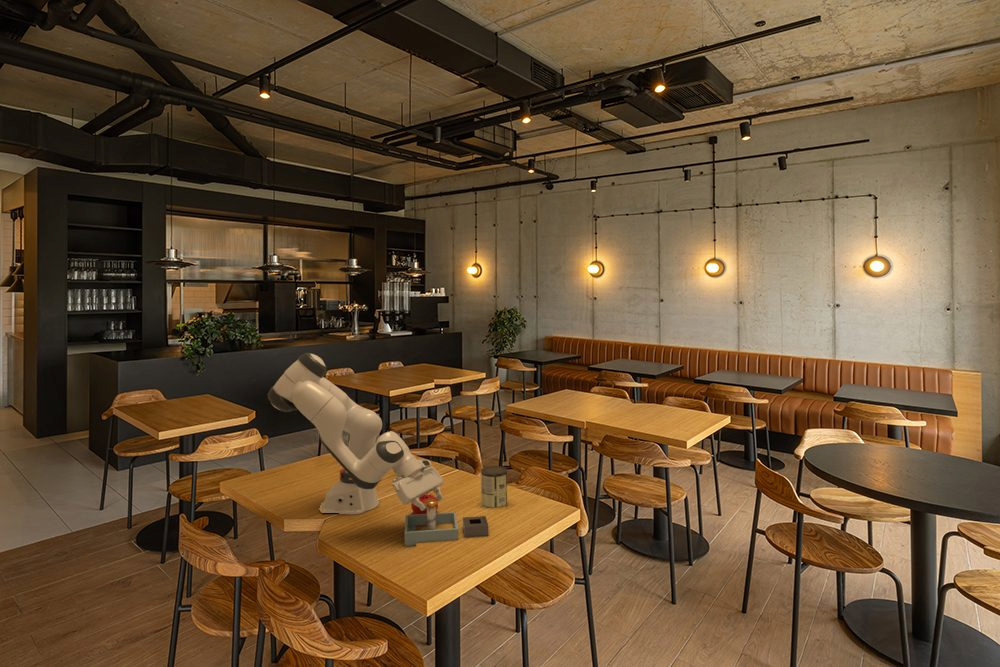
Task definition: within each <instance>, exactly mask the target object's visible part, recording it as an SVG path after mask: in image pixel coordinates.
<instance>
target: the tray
mask: <svg viewBox="0 0 1000 667" xmlns="http://www.w3.org/2000/svg"><path fill="white" fill-rule="evenodd" d="M404 519H405V520H404V521H405V522H404V547H414V546H415V545H416V546H417V543H418V544H419V543H431V542H442V541H457V540H459V526H458V520H457V519H458V518H457V514H456V511H452V512H451V511H449V512H436V525H440V524H441V525H442V524H452V523H453V528H444V529H436V530H427V529H425V530H417V529H418V528H417V527H418V526H425V525H426V526H427V514H416V515H414V514H406V515H405V518H404ZM413 545H414V546H413Z"/></svg>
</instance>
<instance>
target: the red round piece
mask: <svg viewBox="0 0 1000 667" xmlns="http://www.w3.org/2000/svg"><path fill="white" fill-rule="evenodd" d="M431 493H432V491H431V492H429V493H427V494H425V495H423V496H421V497H419V501H420V502H422V503H425V500H427V499H436V496H434V495H435V494H431ZM436 500H437V499H436ZM410 504H411V505H410V506H411V510H412V512H413V515H416V514H427V508H426V509H425V510H423V511H421V509H420V508H419V507H417V506H416V505H414V504H413V503H412V502H411V503H410ZM438 508H439V504H438V505H437V506H436V512H437V510H438Z"/></svg>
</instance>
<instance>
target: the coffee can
mask: <svg viewBox="0 0 1000 667" xmlns="http://www.w3.org/2000/svg"><path fill="white" fill-rule="evenodd" d="M480 479H481V480H480V482H481V484H480V485H481V487H480V488H481V489H480V490H481V492H480V493H481V508H483V509H492V508H493V509H494V508H506V507H507V506H508V468H506V467H504V466H499V465H489V466H488V465H487V466H485V467H482V468H481V469H480Z"/></svg>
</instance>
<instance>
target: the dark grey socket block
mask: <svg viewBox="0 0 1000 667" xmlns="http://www.w3.org/2000/svg"><path fill="white" fill-rule="evenodd" d="M462 530H463V534H464V538H477V537H488V536H489V524H488V520H487V516H486V515H482V516H481V515H480V516H468V517H466V516H465V517H462Z"/></svg>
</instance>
